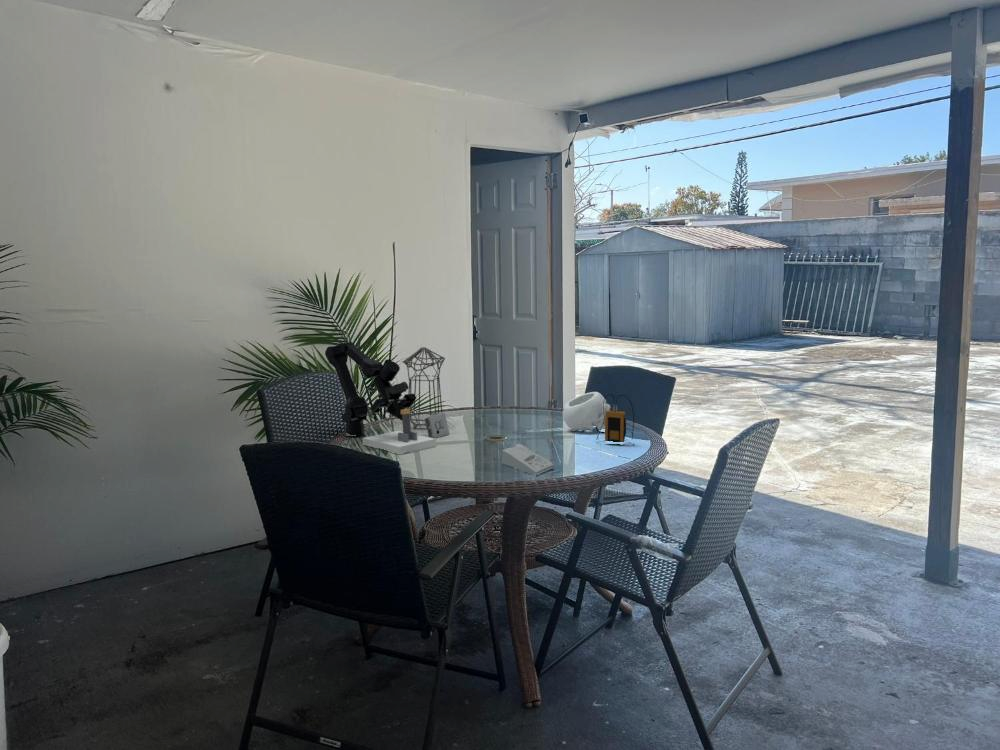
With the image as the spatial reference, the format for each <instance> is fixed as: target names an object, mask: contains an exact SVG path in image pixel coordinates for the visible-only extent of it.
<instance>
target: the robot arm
mask: <svg viewBox="0 0 1000 750" xmlns="http://www.w3.org/2000/svg"><path fill="white" fill-rule="evenodd" d="M324 352H325V357H326V359H327V361H328V364H330V365H331V366H332V367H333V368H334V369H335V372H336V374H337V378H338V379H339V383H340V386H341V388H342V391H343V395H344V396H345V397H344V398H345V405H344V408H345V410H344V412H343V414H342V415H341V419H342V422H344V423H345V429H346V431H345V432H346V433H348V434H350V435H356V436H360V437H362V436H364V435H366V432H365V424H364V421H366V420H367V418H368V413H369V408H368V406H369V405H368V404H367V401H366V399H365V397H364V396H362V397H361V396H360V395H359V394H358V391H357V389H356V386H355V384H354V380H353V378H352V375H351V372H350V369H349V367H348V364H347V362H348V359H349V358H350V359H351V360H352V361H353V362H354V363H356V365H358V367H360V371H361V373H362V374H363V375H364V376H365V378H367V379H371V378H374V379H373V380H371V383H370V388H375V389H376V390H377V392H378V393H379V395H378V398H376V399H375V400H374V402H373V403H372V405H371V407H370V410H371V412H372V413H373V414H378V413H380V411H381V408H385V409H386V410H385V413H386V414H390V415H392V416H393V417H395V418H397V419H399V420H400V421H402V414H401V410H403V409H407V407H409V408H410V406H411V407H412V406H413V405H414V401H415V402H416V400H417V396H415V395H414V393H411V394H408V393H407V394H406V393H405V392H407V390H409V384H408V383H407V382H406V381H402V382H400V383H396V384H394V385H392V383H391V382H392V381H393V380H394V379H395V378H396V376H397V374H398V373H399V371H400V370H401V367H400V365H399V364H397V363H396V362H395V361H392V360H391V359H390V358H389V359H385V360H384V362H383V363H382V362H380V361H378V360H377V359H372V358H370V357H369V356H368V355H366V354H365V353H364V352H363V351H362V350H361V349H359V347H357V346H356V345H355V343H354V342H352V341H348V342H347V341H345V342H341V343H339V344H337V345H332V346H330V345H329V346H328V347H326V349H325V351H324ZM402 393H405V394H404V395H402ZM402 396H403V397H402ZM400 397H402V398H400ZM346 433H345V434H346ZM363 434H364V435H363ZM361 435H362V436H361Z"/></svg>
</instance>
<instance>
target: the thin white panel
mask: <svg viewBox="0 0 1000 750" xmlns="http://www.w3.org/2000/svg"><path fill="white" fill-rule="evenodd" d="M363 445H367V446H372V447H375V448H380V449H384V450H387V451H391V452H394V453H397V454H396V455H398V454H402V455H404V453H406V454H408V453H407V452H410V453H413V452H412V451H414V452H418V450H419V451H423V450H426V449H431V448H435V447H436V446H437V438H433V437H429V436H426V435H425V436H424V435H419V434H418V432H416V431H412V430H411V438H409V435H408V434H405V433H403V430H402V431H400V430H396V431H390V432H386V433H381V434H375V435H371V436H367V437H362V446H363ZM422 449H423V450H422ZM394 453H393V454H394Z"/></svg>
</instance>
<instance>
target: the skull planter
mask: <svg viewBox="0 0 1000 750" xmlns="http://www.w3.org/2000/svg"><path fill="white" fill-rule="evenodd" d="M604 399H605V400H604ZM603 402H604V412H603ZM611 408H612V407H611V404H608V402H607V399H606V398H605V397H604V396H603V395H602V394H601V392H598V391H590V392H586V393H583V394H580V395H578V396H576V397H574V398H571V399H570V400H568V401H567V402H565V404H564V407H563V410H562V418H563V422H565V425H567V427H568V428H570V430H572V429H573V430H575V431H576V430H586V431H587V430H588V431H590V432H591V431H592V430H593V429H594V426H596V427H597V428H596V429H597V430H598V431H599V430H600V429H605V420H604V414H605V412H606V411H608V410H610V409H611ZM610 411H611V410H610ZM603 421H604V423H603ZM602 424H603V425H602ZM601 426H602V428H601ZM573 430H572V431H573Z"/></svg>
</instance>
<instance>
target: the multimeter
mask: <svg viewBox="0 0 1000 750" xmlns="http://www.w3.org/2000/svg"><path fill="white" fill-rule="evenodd" d="M609 395H611V397H612V396H613V397H612V398H613V409H612V410H608V411H606V412H605V414H604V420H605V433H604V442H605V441H613V442H624V441H625V442H626V434H627V419H626V412H625V411H618V403H615V396H614V394H612V393H608V394H607V395H606V396H605V397H604V400H605V399H606V398H607V397H608V396H609ZM621 396H623V397H626V398H627V399H628V401H629V403H630V405H631V409H632V416H633V419H632V420H633V423H632V430H634V427H635V412H634V408H633V404H632V402H631V400H630V398H629V397H628V396H627V395H624V394H620V395H618V396H617V398H616V400H618V399H619V397H621ZM603 412H604V402H603ZM603 423H604V421H603ZM602 425H603V424H602ZM601 428H602V426H601ZM600 430H601V429H600ZM600 433H601V432H600V431H599V430H598V434H597V437H596V440H598V439H599V435H600ZM631 435H632V436H631V439H633V438H634V437H633V436H634V431H632V433H631ZM596 440H595V441H596Z"/></svg>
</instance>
